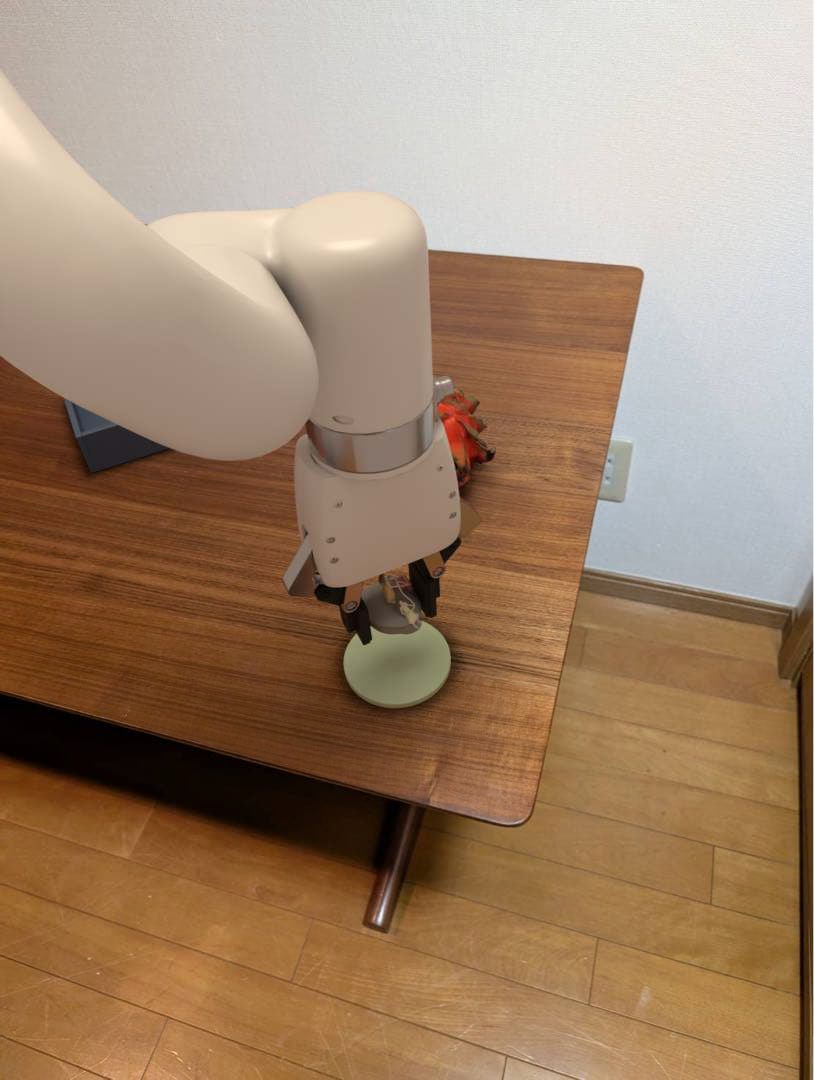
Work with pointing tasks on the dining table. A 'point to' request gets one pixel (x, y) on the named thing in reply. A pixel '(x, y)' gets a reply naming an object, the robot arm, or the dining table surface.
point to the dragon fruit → (464, 433)
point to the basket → (107, 440)
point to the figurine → (393, 605)
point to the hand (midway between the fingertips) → (391, 615)
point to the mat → (398, 667)
